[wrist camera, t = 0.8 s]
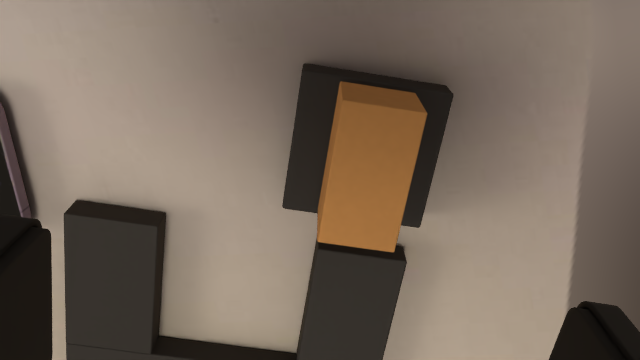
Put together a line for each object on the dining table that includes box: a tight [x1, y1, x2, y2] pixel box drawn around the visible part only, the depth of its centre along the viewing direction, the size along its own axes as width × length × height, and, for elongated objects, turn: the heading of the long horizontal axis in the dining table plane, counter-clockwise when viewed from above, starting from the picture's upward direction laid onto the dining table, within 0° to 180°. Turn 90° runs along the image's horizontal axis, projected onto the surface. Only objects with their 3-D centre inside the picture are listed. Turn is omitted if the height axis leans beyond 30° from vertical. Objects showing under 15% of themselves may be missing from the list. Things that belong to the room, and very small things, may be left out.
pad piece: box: [282, 63, 453, 252], centre depth 24 cm, size 6×6×4 cm
